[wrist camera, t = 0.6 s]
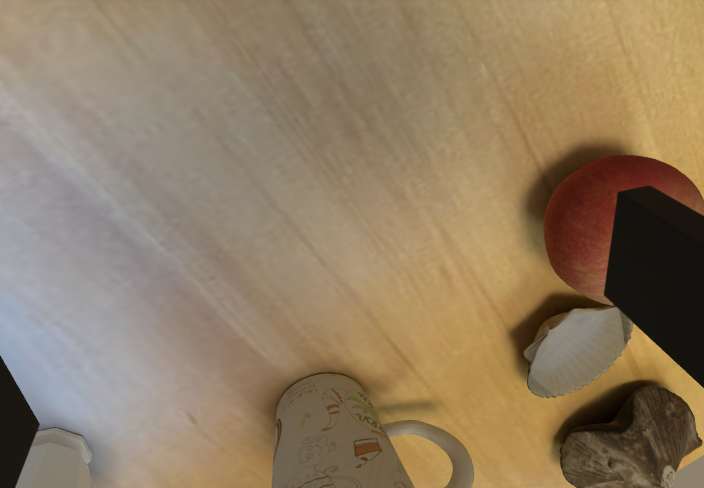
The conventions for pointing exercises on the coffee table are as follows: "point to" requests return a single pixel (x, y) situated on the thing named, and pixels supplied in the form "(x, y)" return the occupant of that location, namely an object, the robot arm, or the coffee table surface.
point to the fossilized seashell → (632, 444)
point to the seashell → (575, 349)
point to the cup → (56, 461)
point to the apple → (602, 215)
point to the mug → (347, 440)
